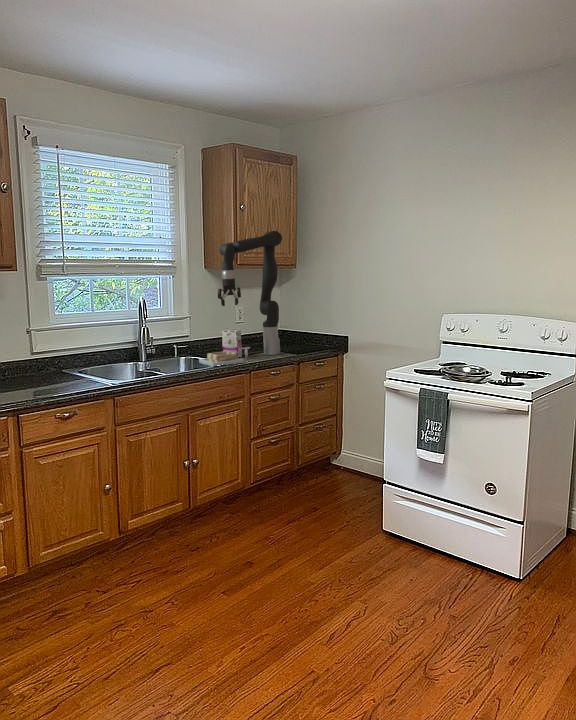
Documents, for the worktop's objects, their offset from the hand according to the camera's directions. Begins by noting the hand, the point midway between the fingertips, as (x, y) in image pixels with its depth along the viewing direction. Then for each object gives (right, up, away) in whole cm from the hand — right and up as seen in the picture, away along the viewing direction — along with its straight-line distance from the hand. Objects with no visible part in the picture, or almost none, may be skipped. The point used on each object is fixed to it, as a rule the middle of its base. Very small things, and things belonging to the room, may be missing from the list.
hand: (230, 305), depth 360 cm
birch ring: (-3, -34, -10) cm, 35 cm away
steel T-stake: (+10, -32, +1) cm, 33 cm away
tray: (-4, -34, -11) cm, 36 cm away
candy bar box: (+1, -31, +10) cm, 32 cm away
